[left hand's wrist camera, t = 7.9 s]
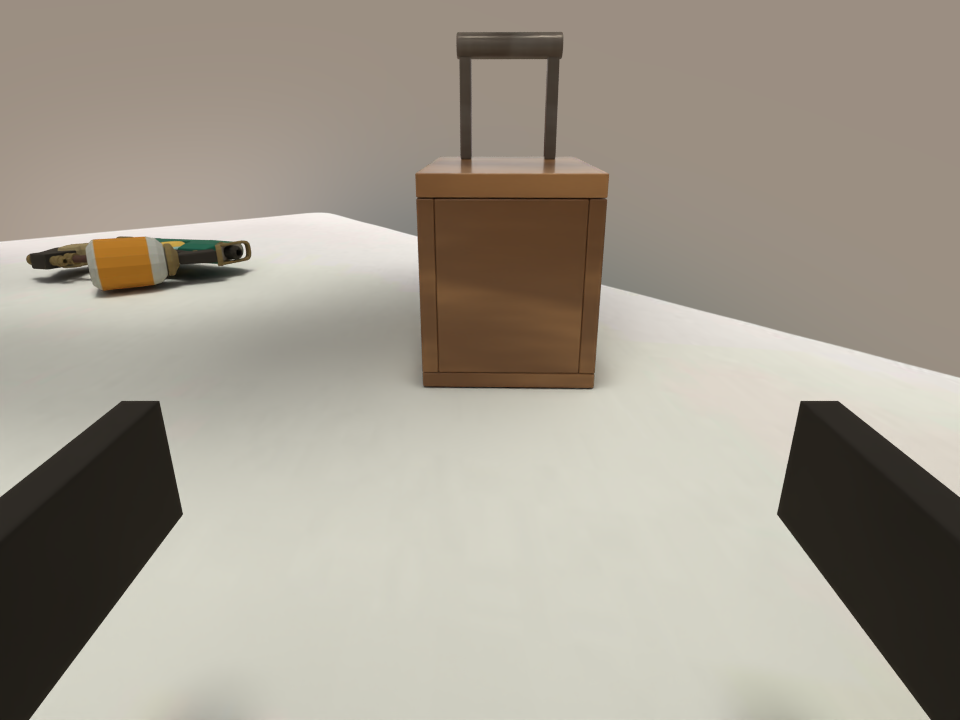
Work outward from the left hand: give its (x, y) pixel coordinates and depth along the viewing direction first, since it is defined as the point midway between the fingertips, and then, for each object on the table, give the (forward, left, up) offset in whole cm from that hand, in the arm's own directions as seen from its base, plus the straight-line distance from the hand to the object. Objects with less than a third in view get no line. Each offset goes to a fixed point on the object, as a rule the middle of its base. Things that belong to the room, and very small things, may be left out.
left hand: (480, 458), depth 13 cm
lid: (+20, -18, +3) cm, 27 cm away
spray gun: (+56, -4, -7) cm, 56 cm away
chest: (+19, -18, -7) cm, 27 cm away
